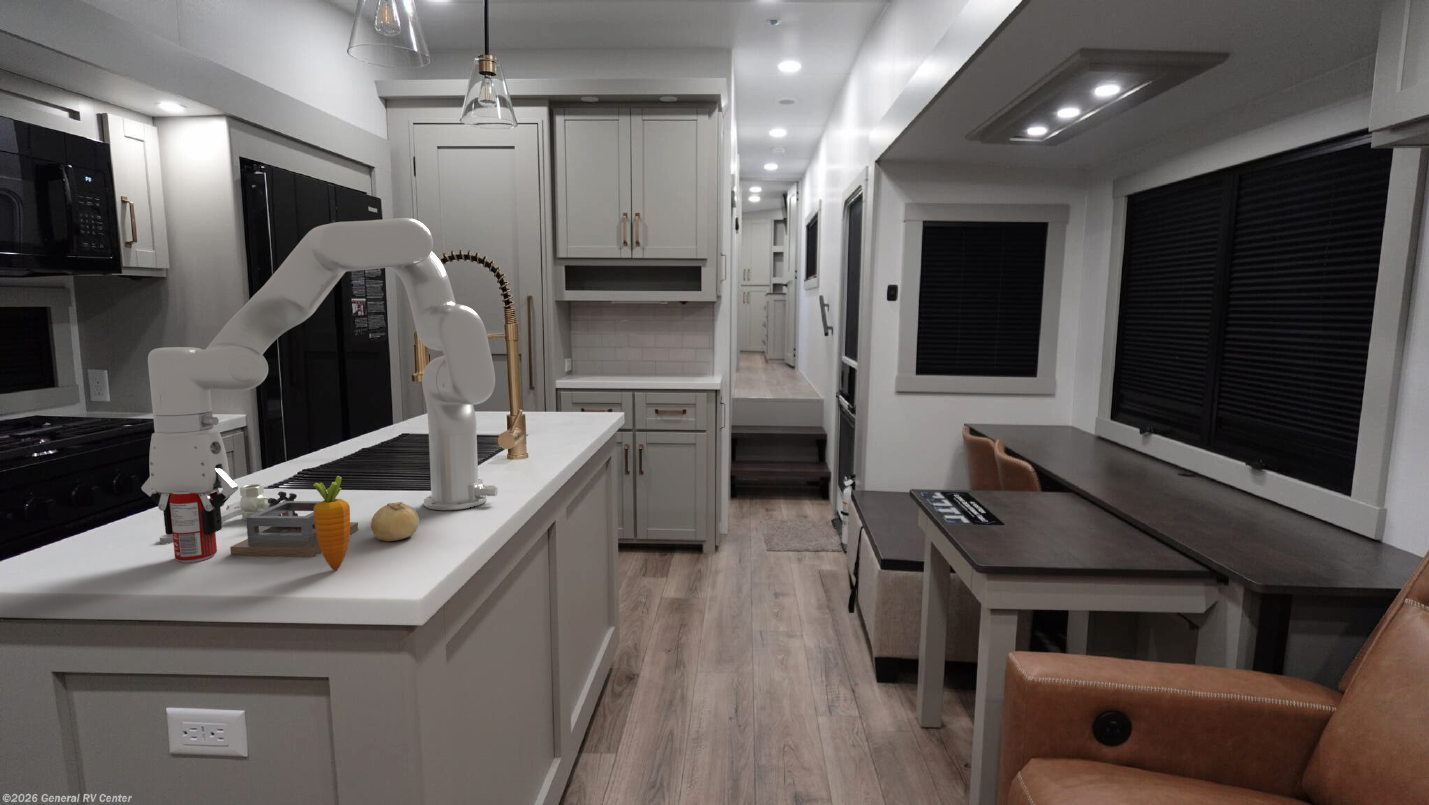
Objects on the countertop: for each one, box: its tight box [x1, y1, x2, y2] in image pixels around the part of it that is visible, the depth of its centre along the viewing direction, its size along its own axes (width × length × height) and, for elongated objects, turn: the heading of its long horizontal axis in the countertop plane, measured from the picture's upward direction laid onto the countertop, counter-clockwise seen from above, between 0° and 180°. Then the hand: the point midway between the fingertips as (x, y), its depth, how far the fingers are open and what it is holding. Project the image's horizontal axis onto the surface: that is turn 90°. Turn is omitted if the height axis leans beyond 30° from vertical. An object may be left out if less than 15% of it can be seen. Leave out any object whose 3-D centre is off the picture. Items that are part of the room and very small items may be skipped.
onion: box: [370, 501, 420, 542], centre depth 123 cm, size 8×8×7 cm
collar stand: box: [229, 500, 359, 557], centre depth 120 cm, size 14×14×6 cm
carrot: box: [312, 475, 351, 571], centre depth 106 cm, size 5×5×15 cm
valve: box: [239, 483, 299, 521], centre depth 132 cm, size 7×7×12 cm
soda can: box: [169, 492, 218, 563], centre depth 112 cm, size 6×6×12 cm
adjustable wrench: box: [159, 500, 243, 544], centre depth 132 cm, size 25×6×2 cm, turn 175°
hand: (194, 531), depth 112 cm, fingers closed on soda can, 5 cm apart
